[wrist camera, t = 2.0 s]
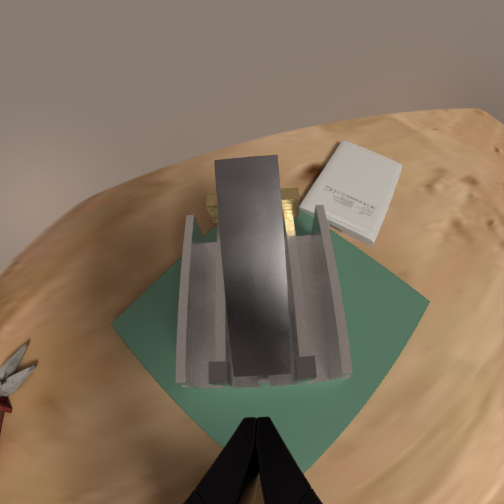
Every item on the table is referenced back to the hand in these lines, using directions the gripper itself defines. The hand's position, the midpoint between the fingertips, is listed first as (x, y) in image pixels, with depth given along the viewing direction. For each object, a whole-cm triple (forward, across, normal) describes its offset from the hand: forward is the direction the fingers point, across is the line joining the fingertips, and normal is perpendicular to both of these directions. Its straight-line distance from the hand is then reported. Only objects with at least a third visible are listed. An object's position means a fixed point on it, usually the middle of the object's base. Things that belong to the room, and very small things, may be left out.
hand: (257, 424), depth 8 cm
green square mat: (+14, -1, +4) cm, 15 cm away
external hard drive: (+25, -11, -5) cm, 28 cm away
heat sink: (+14, 0, +3) cm, 15 cm away
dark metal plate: (+7, 0, -3) cm, 8 cm away
